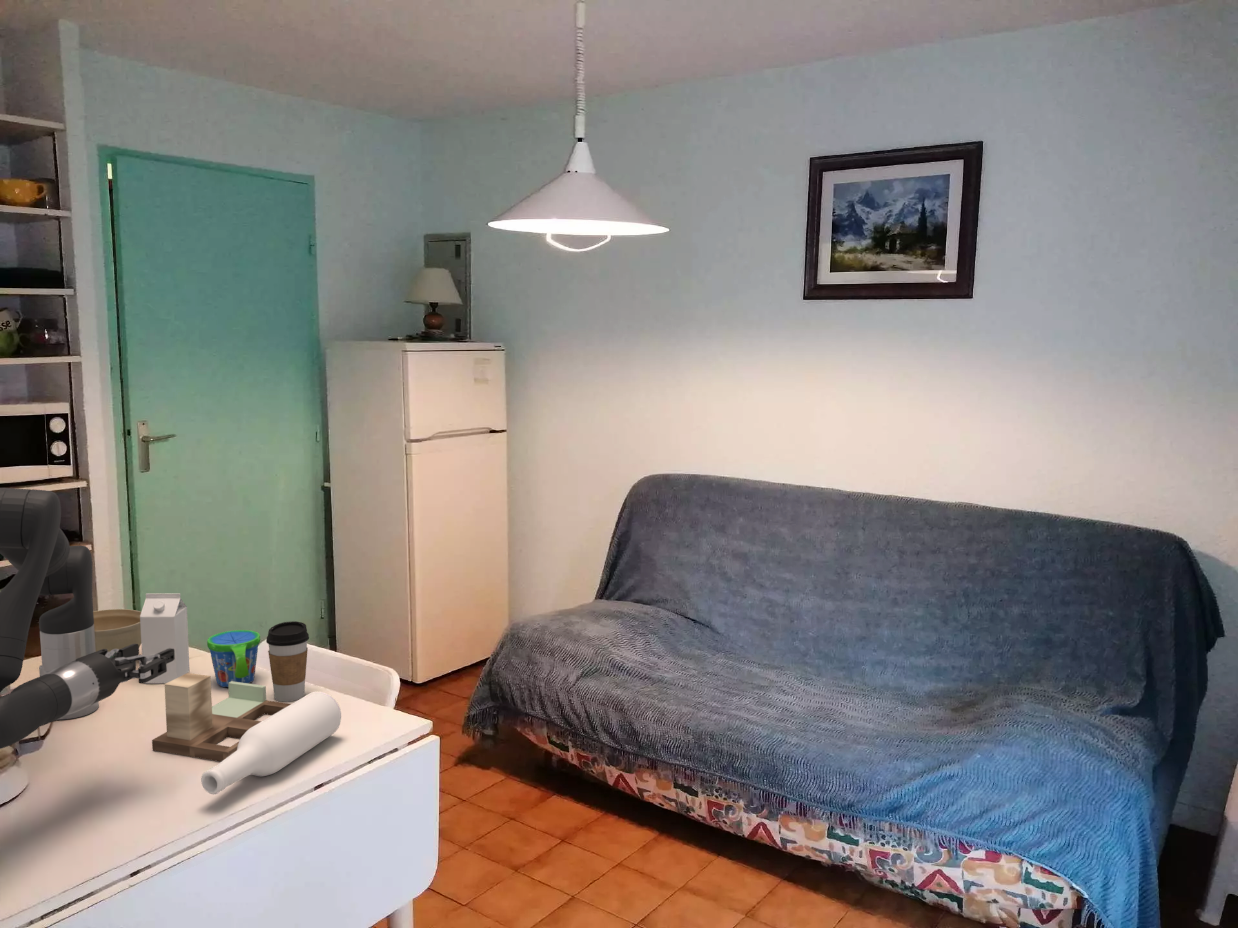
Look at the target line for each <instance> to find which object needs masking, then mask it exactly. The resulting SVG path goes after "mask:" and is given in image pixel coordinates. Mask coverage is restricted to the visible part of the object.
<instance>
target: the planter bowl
mask: <svg viewBox="0 0 1238 928" xmlns="http://www.w3.org/2000/svg"><path fill="white" fill-rule="evenodd" d="M141 612H142V611H140V610H134V609H129V608H128V609H127V608H114V609H113V608H112V609H111V608H110V609H102V610H93V616H94V631H95V648H96V651H99V650H102V649H108V652H110V651H111V650H113V649H122V648H124V647H126V646H129V645H131V644H138V645H139V648H140V646H142V645H141V626H140V615H141Z"/></svg>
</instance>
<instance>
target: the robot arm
mask: <svg viewBox="0 0 1238 928" xmlns="http://www.w3.org/2000/svg"><path fill="white" fill-rule="evenodd" d="M61 506H62V504H61V500H60V497H59V496H58V494H57V493H55V492H54V491H51V490H45V489H34V488H33V489H30V488H29V489H28V488H13V487H0V555H1V556H3V557H4V558H5V559H6V560H7V561H8V562H9V564H11V566H13V567H14V568H15V569H16V570H17V573H15V575H14V576H13V577H12V578H11V579H10V581H9V582H8V583H7V584H5V586H4V587H3V588H2V589H1V591H0V694H1V693H2V691H3V690H4V689H5V688H6V687H8V686H10V685H12V684H14V683H16V681H17V680H19V678H20V676H21V673H22V668H23V666H24V665H23V664H24V658H25V653H26V647H27V642H28V637H29V630H30V627H31V623H32V618H33V615H34V611H35V608H36V605H37V602H38V599H39V596H55V595H69V594H73V597H72V599H70V600H69V601H67V602H65V603H63V604H62V605H60V606H57V607H55V608H52V609H49V610H48V611H45V612H44V613H42V614H41V615H40V616H39V621H38V626H39V627H38V628H39V638H40V651H41V652H40V653H41V665H39V666H38V671H39V676H38V677H36V678H33V679H30V680H28V681H26V682H23V683H22V684H19V685H18V686H16V687H14V689H12V690H11V691H10V692H9V693H7V694H4V695H2V696H0V750H2V749H4V748H7V747H9V746H12V745H15V744H16V743H18V742H20V741H22V740H23V739H25V738H26V737H28V736H30V735H31V734H32V733H34V732H35V731H37V730H38V729H39V728H40V727H43V726H45V725H47V724H49V723H52V722H54V721H57V720H70V719H77V718H79V717H80V718H81V717H84V716H88V715H89V714H92V713H93V712H94V713H95V711H97V710H98V709H99V707H100V703H99V702H101V701H104V700H105V699H106V698H109V697H110V696H112V695H113V694H114V693H115V692H116V690H117V689H118V687H119V685H120V684H123V683H126V682H129V681H130V680H133V679H138V683H139V684H147V683H146V682H148V681H150V680H152V679H154V678H156V677H158V676H160V675H161V674H163V673H165V672H167V665H166V664H167V663H169V662H172V661H173V660H174V659H175V653H174V649H172V648H168V649H166V650H164V651H162V652H159V653H157V654H155V655H151V656H146V657H145V656H143V655H142V654H140V647H139V645H138V644H131V645H129V646H126V647H124V648H122V649H113V650H111V651H110V652H108V649H102V650H99V651H96V648H95V631H94V616H93V611H94V602H93V570H94V569H93V558H92V556H93V555H92V553H91V551H90V549H89V547H87V546H85V545H70V542H69V540H68V537H67V536H66V534H65V533H64V531H63V530H62V528H60V526H61V517H62V507H61ZM151 660H152V661H151ZM147 661H151V662H149V663H147V664H146V662H147ZM136 662H138V668H137V664H136Z"/></svg>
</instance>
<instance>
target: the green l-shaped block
mask: <svg viewBox="0 0 1238 928" xmlns="http://www.w3.org/2000/svg"><path fill="white" fill-rule="evenodd" d="M227 688H228V697H227V698H224V699H223V700H221V701H220V702H218V703H216V704H214V705H212V714H216V715H222V716H229V717H236V718H237V717H239V716H241V715H242V714H244V713H246V712H247V711H249V710H251V709H252V708H254V707H256V706H257V705H259V704H261V703H262V702H264V701H266V700H267V685H262V684H255V683H241V682H234V681H231V682H229V683H228V687H227Z"/></svg>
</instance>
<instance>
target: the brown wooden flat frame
mask: <svg viewBox="0 0 1238 928" xmlns="http://www.w3.org/2000/svg"><path fill="white" fill-rule="evenodd" d="M291 704H292V703H290V702H289V703H288V702H281V701H276V700H268V699H266V701H264V702H262V703H261V704H259V705H257V706H256V707H254V708H252V709H251V710H249V711H247V712H246V713H244V714H242V715H241V716H239V717H237V718H236V717H229V716H222V715H216V714H212V723H213V727H212V728H210V729H209V730H207V731H205V732H203V733H202V734H200V735H198V736H197V737H195V738H193V739H192V740H185V739H179V738H173V737H167V731H165V732H164V733H162V734H160V735H159V736H157V737H155V738H153V739H151V743H152V744H151V745H152V748H151V749H152V751H154V752H158V753H159V752H160V753H166V754H172V755H178V756H183V757H190V758H195V759H201V760H208V761H215V762H219V763H220V762H222V761H223V760H225V759H226V758H227V757H229V756H230V755H231V754H233V753H234V752H235V751H237V747H238V743H239V741H238V742H235V743H234V744H233V745H231V746H229V745H228V746H227V745H222V744H218V743H221V742H222V741H224V740H226V739H227V738H232V739H233V738H234V739H239V740H240V739H241V737H242V736H243V735H244V734H245V732H246V731H247V730H248V729H250V728H251V727H253V726H255V725H257V724H258V723H260V722H262V721H263V720H262V721H261V720H258V719H259V718H261V717H262V716H264V715H267V714H268V716H272V715H274V714H275V713H277V712H279V711H281V710H282V709H284V708H286V707H287V706H289V705H291Z"/></svg>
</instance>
